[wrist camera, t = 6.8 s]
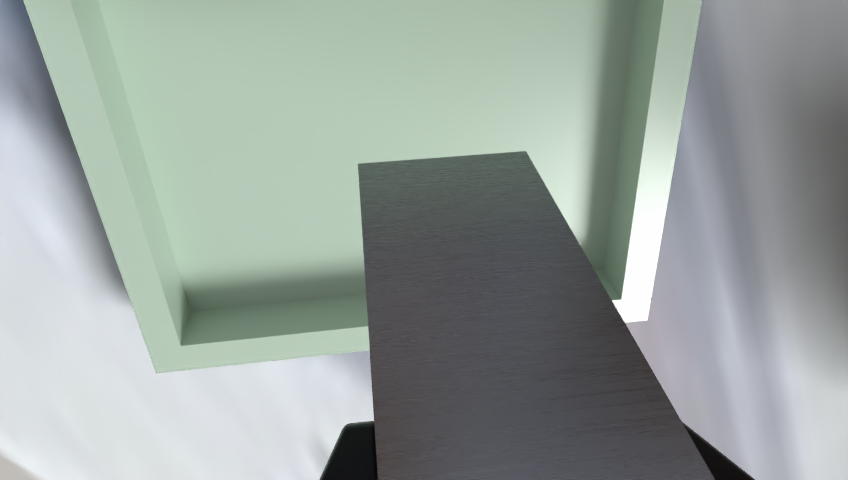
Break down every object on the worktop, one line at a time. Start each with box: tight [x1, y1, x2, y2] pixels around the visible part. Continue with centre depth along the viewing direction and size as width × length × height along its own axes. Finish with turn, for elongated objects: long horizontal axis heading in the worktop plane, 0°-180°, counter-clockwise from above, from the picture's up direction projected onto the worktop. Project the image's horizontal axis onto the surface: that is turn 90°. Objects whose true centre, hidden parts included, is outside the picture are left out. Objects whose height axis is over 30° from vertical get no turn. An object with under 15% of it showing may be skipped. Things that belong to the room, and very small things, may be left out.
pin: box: [358, 151, 715, 480], centre depth 9 cm, size 3×3×8 cm
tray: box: [23, 0, 702, 373], centre depth 19 cm, size 16×14×2 cm
